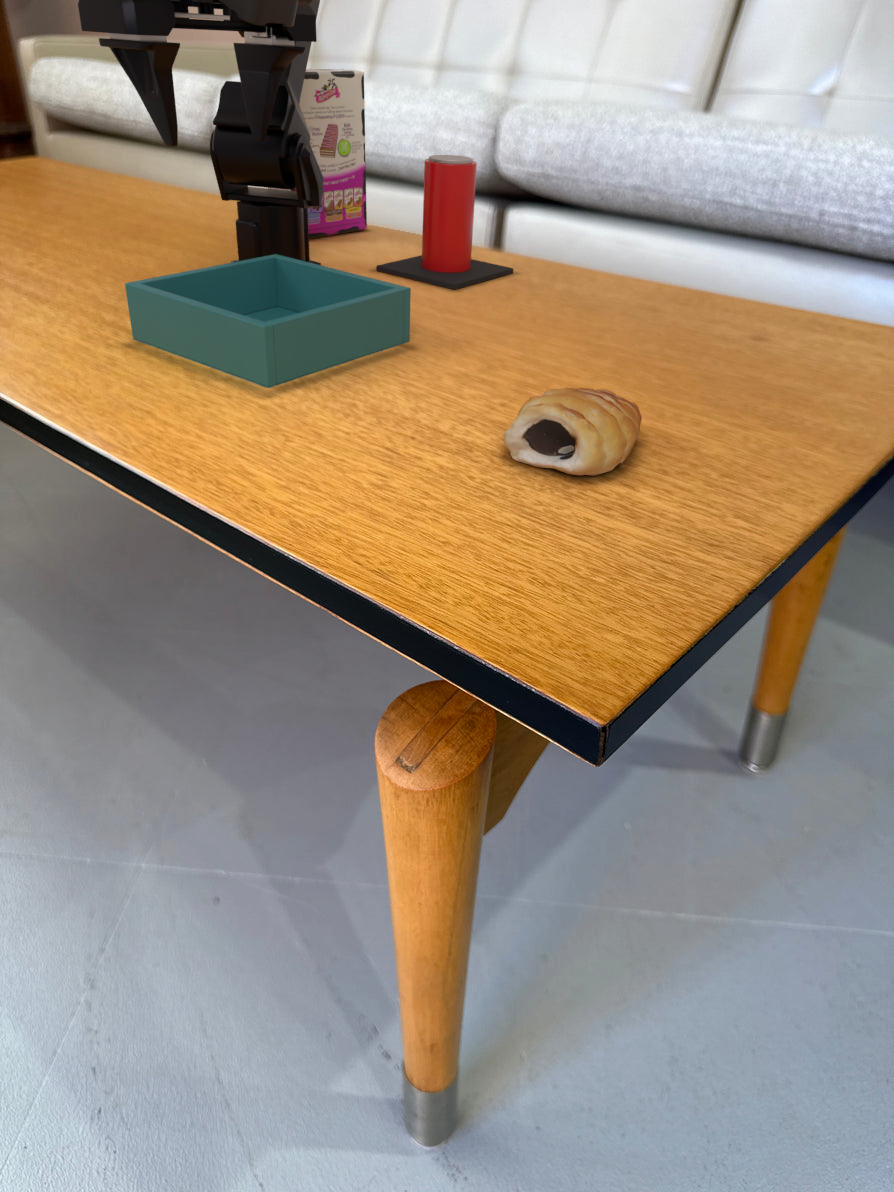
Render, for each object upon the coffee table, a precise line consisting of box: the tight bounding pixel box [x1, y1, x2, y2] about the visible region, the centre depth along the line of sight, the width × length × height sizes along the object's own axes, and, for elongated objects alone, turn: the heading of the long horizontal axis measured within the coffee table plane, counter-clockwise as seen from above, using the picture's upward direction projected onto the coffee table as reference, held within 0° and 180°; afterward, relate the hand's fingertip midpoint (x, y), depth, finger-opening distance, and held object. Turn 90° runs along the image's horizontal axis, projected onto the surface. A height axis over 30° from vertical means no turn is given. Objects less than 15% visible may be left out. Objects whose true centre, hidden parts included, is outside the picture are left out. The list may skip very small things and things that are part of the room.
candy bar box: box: [267, 68, 368, 239], centre depth 98 cm, size 11×5×16 cm, turn 137°
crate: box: [124, 254, 412, 389], centre depth 65 cm, size 15×15×4 cm
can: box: [421, 154, 478, 273], centre depth 86 cm, size 5×5×10 cm
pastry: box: [502, 387, 642, 477], centre depth 51 cm, size 9×7×4 cm
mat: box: [375, 254, 514, 290], centre depth 88 cm, size 10×10×1 cm
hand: (217, 143), depth 71 cm, fingers open, 9 cm apart
